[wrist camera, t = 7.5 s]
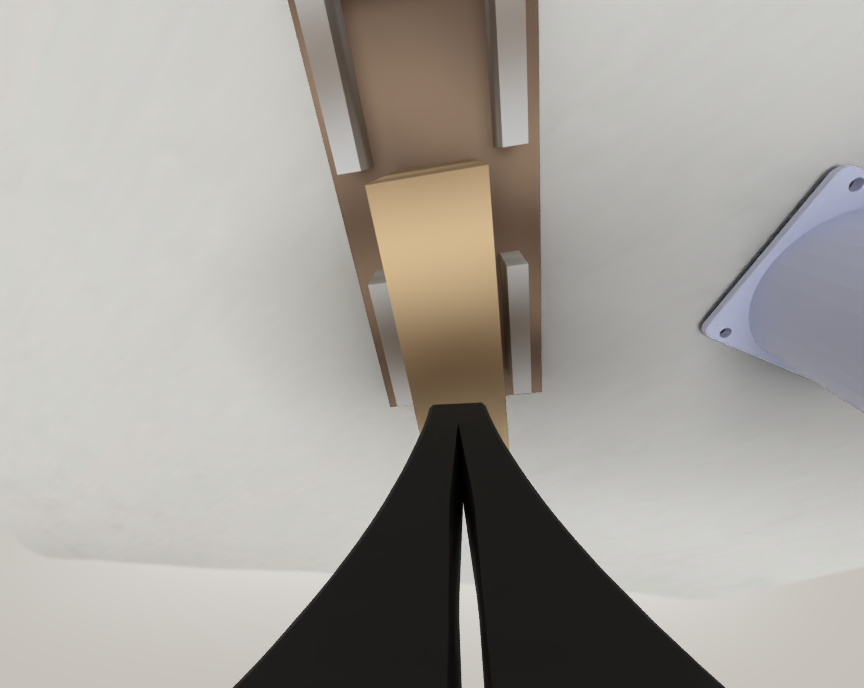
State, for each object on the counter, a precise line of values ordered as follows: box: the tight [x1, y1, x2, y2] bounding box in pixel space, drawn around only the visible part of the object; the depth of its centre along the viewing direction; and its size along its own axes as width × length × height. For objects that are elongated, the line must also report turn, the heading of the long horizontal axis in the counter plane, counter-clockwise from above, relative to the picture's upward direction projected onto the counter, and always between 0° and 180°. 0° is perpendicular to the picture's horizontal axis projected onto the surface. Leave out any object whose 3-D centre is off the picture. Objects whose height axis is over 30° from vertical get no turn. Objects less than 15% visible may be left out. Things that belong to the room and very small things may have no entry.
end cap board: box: [288, 0, 542, 407], centre depth 15 cm, size 18×8×4 cm, turn 8°
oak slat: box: [365, 158, 509, 450], centre depth 14 cm, size 11×3×6 cm, turn 9°
